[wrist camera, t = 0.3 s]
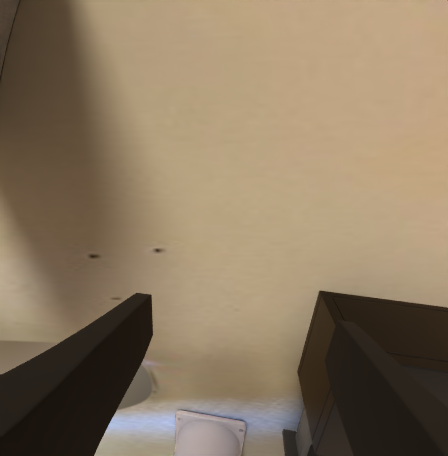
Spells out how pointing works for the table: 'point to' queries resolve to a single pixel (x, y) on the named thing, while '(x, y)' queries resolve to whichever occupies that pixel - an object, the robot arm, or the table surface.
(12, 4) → the hip flask
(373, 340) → the robot arm
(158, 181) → the table surface
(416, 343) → the black drawer box
